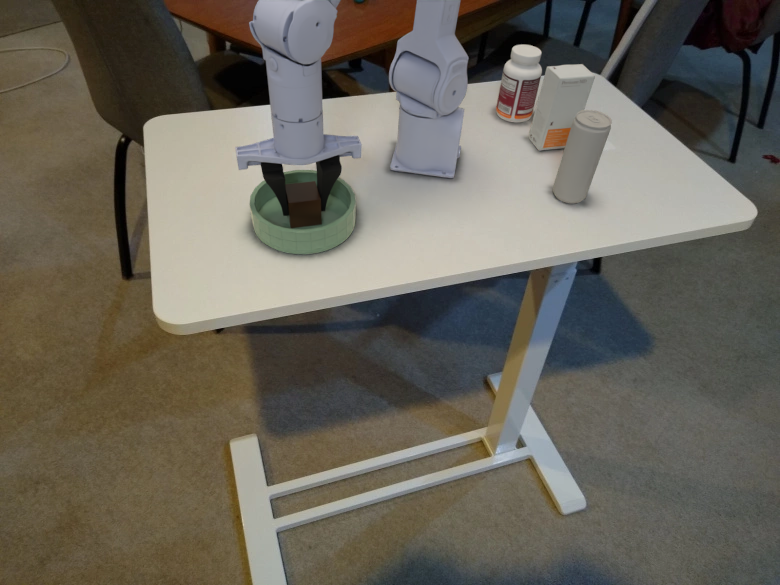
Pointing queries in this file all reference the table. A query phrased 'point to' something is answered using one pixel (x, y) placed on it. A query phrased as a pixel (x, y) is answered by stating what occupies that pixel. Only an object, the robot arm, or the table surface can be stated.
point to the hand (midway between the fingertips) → (303, 208)
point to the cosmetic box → (559, 104)
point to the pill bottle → (519, 84)
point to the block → (303, 204)
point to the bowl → (310, 238)
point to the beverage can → (581, 155)
